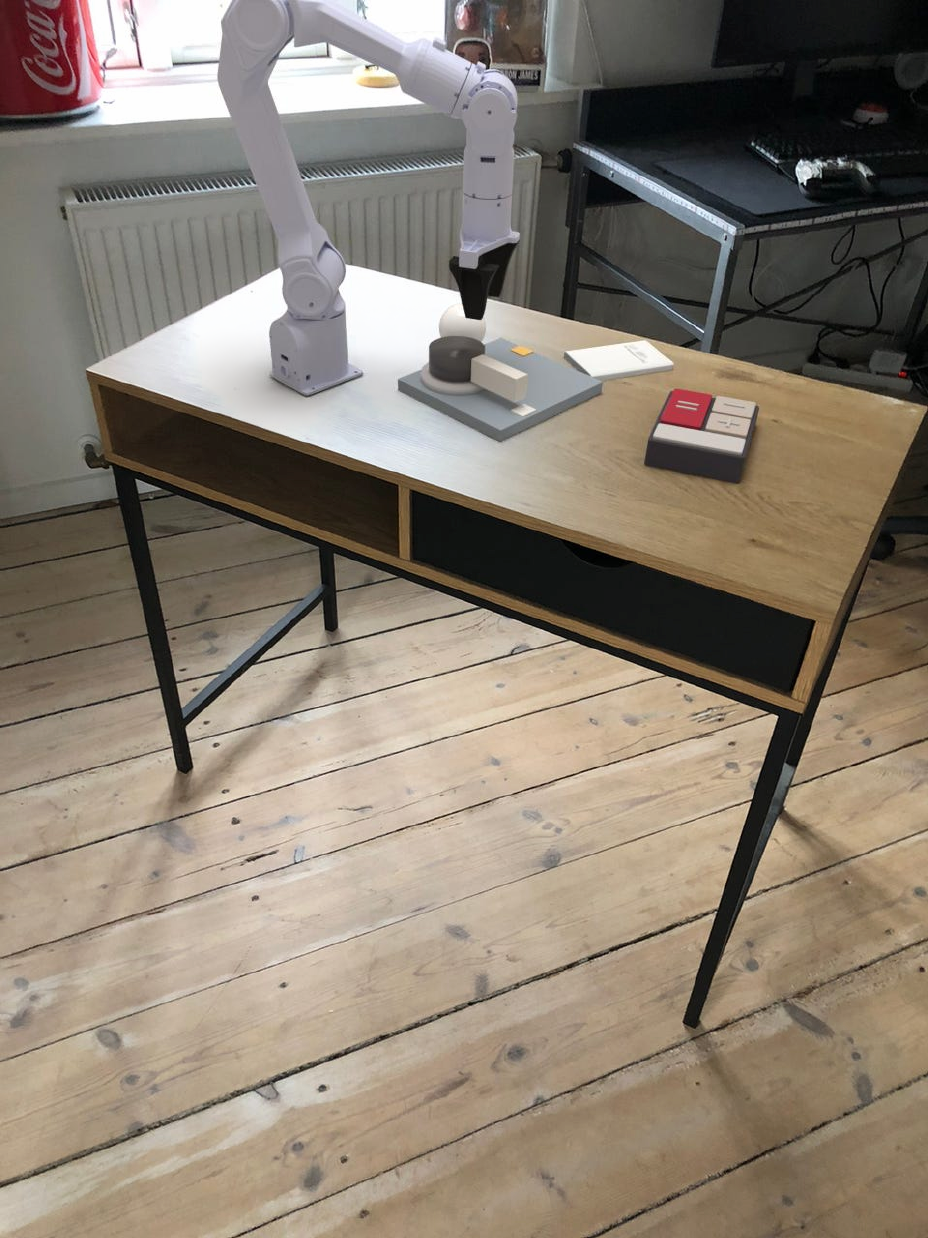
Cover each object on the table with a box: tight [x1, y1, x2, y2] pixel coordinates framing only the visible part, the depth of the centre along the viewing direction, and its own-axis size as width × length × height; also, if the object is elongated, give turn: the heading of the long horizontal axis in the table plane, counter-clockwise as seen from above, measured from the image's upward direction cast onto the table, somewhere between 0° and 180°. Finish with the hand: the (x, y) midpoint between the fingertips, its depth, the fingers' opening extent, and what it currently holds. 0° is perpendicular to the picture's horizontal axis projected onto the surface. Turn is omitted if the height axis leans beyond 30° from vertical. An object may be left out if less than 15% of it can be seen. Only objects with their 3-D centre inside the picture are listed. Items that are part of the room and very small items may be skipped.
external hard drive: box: [563, 339, 675, 382], centre depth 139 cm, size 2×8×12 cm
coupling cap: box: [428, 336, 528, 402], centre depth 127 cm, size 14×7×3 cm, turn 45°
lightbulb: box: [438, 302, 487, 343], centre depth 141 cm, size 6×6×11 cm
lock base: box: [397, 337, 604, 443], centre depth 131 cm, size 19×18×2 cm
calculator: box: [643, 387, 760, 484], centre depth 121 cm, size 11×4×15 cm
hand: (483, 306), depth 126 cm, fingers open, 7 cm apart
